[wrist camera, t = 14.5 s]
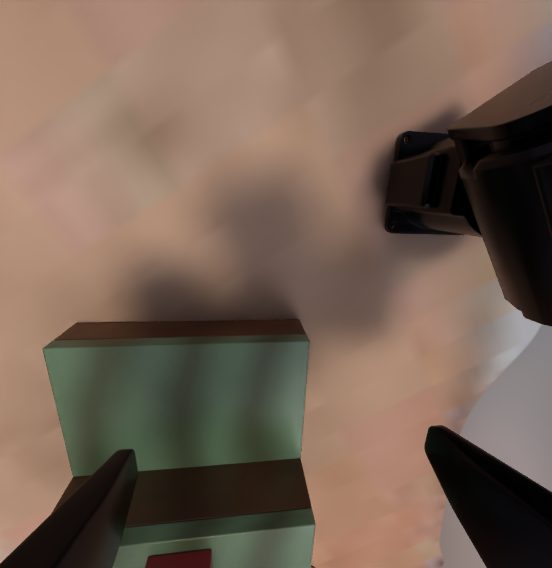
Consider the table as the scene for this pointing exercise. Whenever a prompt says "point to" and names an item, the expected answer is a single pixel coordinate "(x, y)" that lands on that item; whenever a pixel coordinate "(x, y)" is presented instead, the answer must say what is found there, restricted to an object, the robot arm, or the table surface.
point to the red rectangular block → (182, 560)
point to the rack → (193, 433)
